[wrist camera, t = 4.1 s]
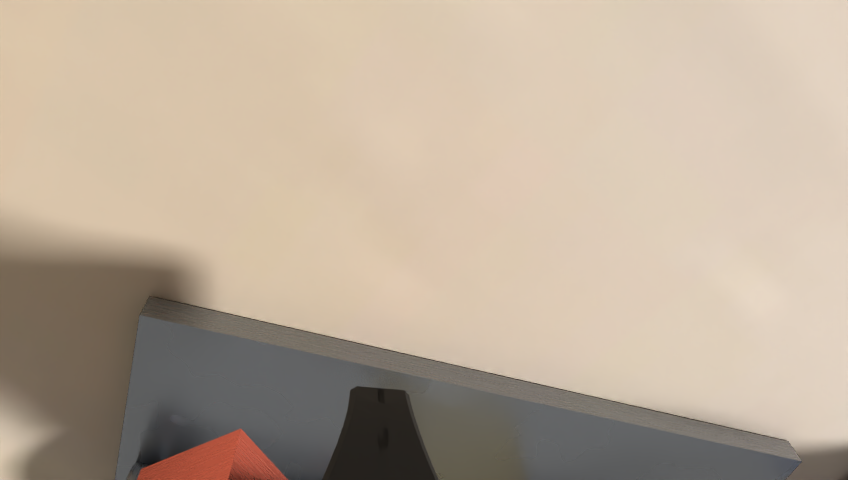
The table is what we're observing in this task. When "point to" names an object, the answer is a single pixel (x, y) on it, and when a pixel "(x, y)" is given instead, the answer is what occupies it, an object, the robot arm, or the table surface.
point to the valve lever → (216, 462)
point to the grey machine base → (431, 402)
